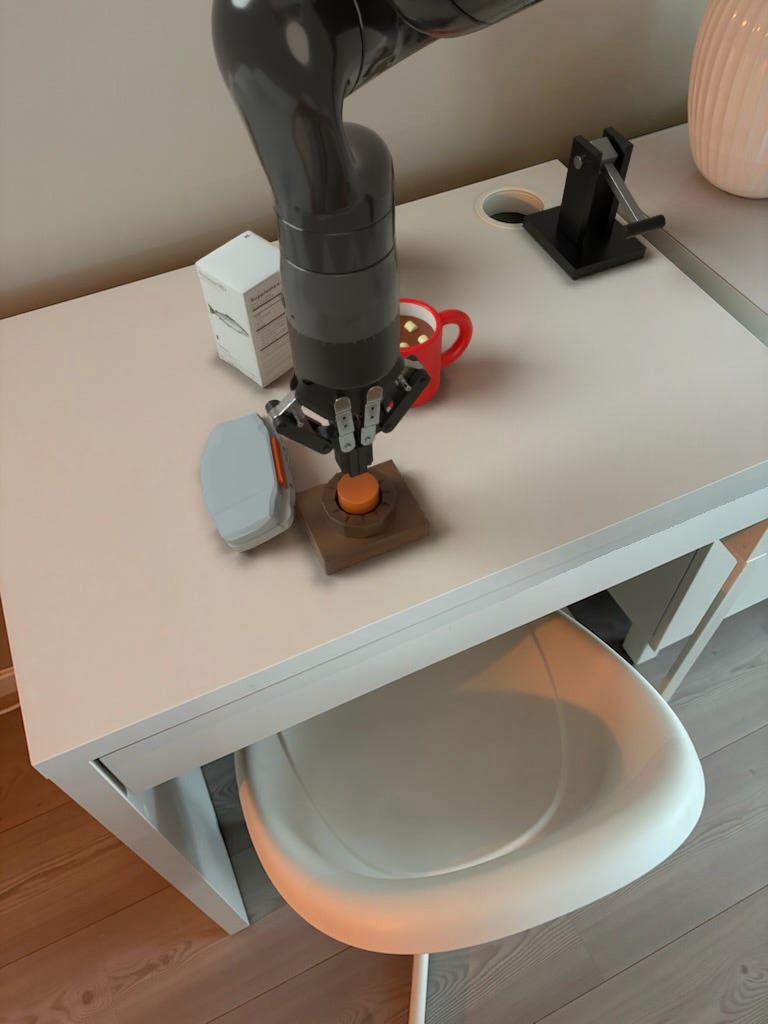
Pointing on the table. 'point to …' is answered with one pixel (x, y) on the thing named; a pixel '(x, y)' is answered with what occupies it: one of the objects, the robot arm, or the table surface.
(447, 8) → the robot arm
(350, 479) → the button
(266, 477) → the grey case
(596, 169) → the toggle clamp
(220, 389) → the table surface
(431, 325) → the mug
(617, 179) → the lever
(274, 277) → the white packaging box
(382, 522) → the button block
